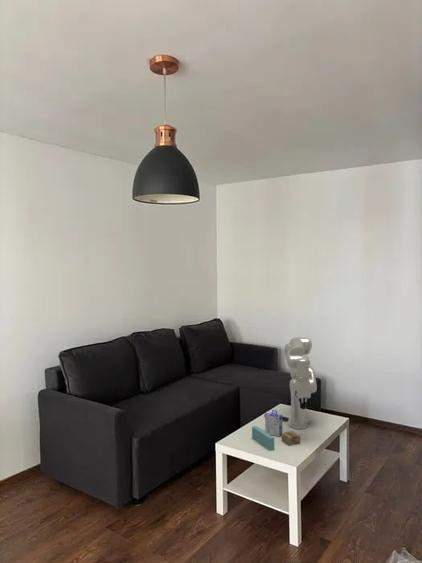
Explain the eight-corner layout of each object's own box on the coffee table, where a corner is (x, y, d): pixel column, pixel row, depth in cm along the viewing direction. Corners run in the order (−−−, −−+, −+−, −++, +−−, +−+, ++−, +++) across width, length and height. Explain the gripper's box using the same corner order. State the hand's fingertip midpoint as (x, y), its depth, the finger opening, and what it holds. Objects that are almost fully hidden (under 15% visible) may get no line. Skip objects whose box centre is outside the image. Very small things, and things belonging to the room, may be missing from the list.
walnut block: (292, 438, 260) (292, 430, 259) (300, 443, 252) (300, 435, 252) (281, 441, 256) (281, 433, 256) (288, 446, 249) (288, 437, 249)
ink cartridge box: (283, 433, 267) (282, 411, 266) (279, 437, 262) (279, 414, 261) (268, 430, 272) (268, 408, 271) (265, 433, 267) (264, 411, 267)
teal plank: (256, 436, 263) (256, 425, 262) (274, 449, 244) (274, 437, 244) (252, 437, 261) (252, 426, 261) (270, 450, 243) (270, 438, 243)
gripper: (308, 375, 263) (308, 404, 264) (288, 378, 257) (289, 408, 258) (316, 378, 256) (316, 408, 257) (296, 381, 250) (296, 412, 251)
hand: (302, 408), depth 257 cm, fingers closed
